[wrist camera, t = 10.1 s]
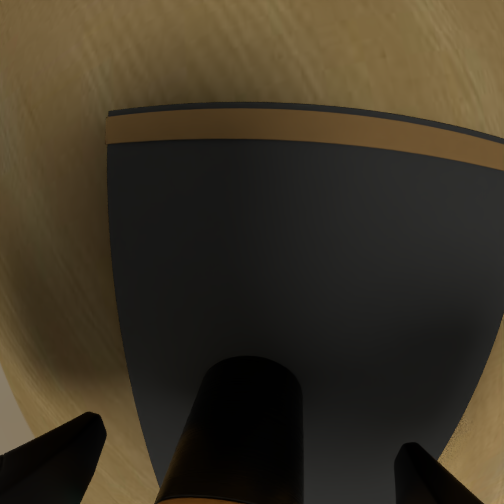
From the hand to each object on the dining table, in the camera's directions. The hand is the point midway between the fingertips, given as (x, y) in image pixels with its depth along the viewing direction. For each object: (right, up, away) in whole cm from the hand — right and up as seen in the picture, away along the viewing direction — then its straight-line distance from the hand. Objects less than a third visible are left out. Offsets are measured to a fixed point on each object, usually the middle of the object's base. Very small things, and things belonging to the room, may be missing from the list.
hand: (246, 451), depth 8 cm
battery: (0, +1, +2) cm, 2 cm away
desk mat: (+2, 0, +3) cm, 4 cm away
